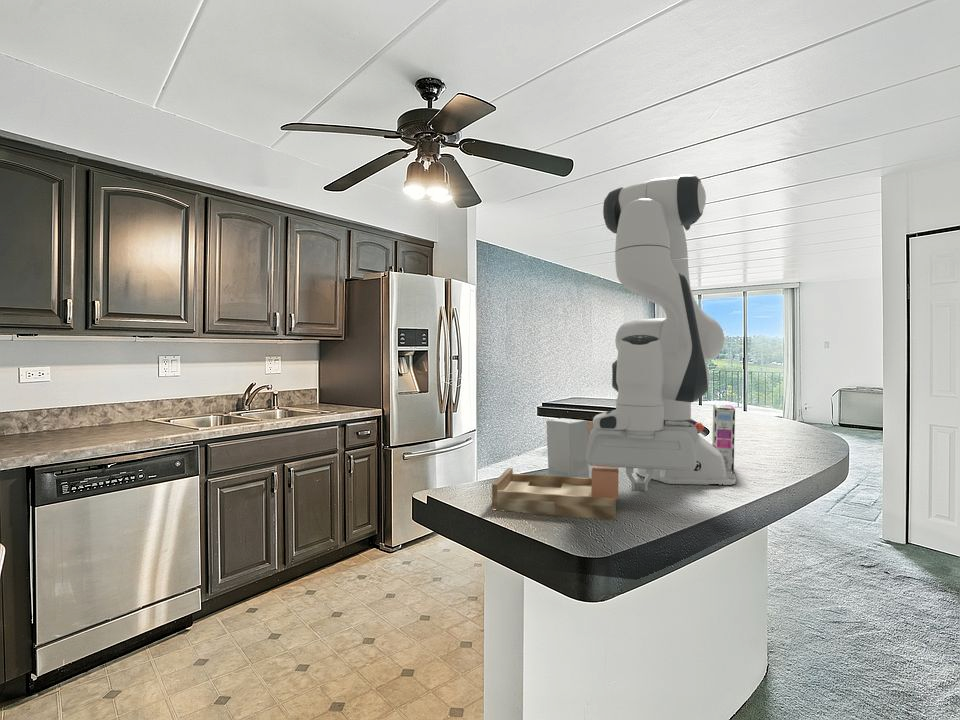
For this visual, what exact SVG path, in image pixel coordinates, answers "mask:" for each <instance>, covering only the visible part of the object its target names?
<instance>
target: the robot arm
mask: <svg viewBox="0 0 960 720" xmlns="http://www.w3.org/2000/svg"><path fill="white" fill-rule="evenodd" d="M706 198H707V195H706V190H705V187H704V185H703V183H702V181H701V179H700V178H699V177H698V176H696V175H694V174H680V175H679V176H673V177H672V176H671V177H669V176H668V177H661V178H654V179H649V181H648V180H647V181H644V182H640V183H639V182H638V183H636V184H632V185H629V186H626V187H623V186H622V187H621V186H620V187H618V188H616V189H613V190H611V191H610V192H608V194H607V195H606V197H605V198H604V200H603V206H602V207H603V208H602V215H603V219H604V223H605V226H606V228H607V229H608V230H609V231H611V233H613V234H615V235H616V236H615V249H614V250H615V251H614V252H615V253H614V254H615V255H614V256H615V258H614V259H615V261H614V262H615V273H616V277H617V279H618V281H619V282H620V284H621V285H622V286H623V287H624V288H625V289H627V290H629V291H630V293H631V292H632V293H633V294H636V295H638V296H641V297H643V298H645V299H646V300H647V301H649V302H651V303H653V304H656V305H659V306H660V307H661V308H662V310H663V311H664V313H665V317H657V318H653V317H652V318H640V319H634V320H631V321H626V322H624V323H622V324H621V325H620V327H619V328H618V330H617V332H616V335H615V341H614V342H615V347H616V350H617V357H616V360H615V361H614V362H612V365H611V369H612V370H611V371H612V374H611V376H612V377H611V379H612V381H611V388H612V389H614V391H616V392H617V397H616V402H615V409H613V410H608V411H606V412H602V413H598V414H595V416H593V418H592V425H593V428H592V429H591V431H590V433H589V435H588V438H587V441H588V444H587V452H586V461H587V463H588V464H589V466H592V467H593V466H602V467H618V468H625V474H626V476H627V478H628V480H629V481H630V482H631V492H642V493H648V484H649V483H650V482H651V480H655V481H659V482H661V483H664V484H669V485H709V484H719V485H720V486H726V485H727V486H728V485H729V486H730V485H731V486H733V485H735V484H736V483H737V478H736V475H735V474H734V473H731V472H729V471H727V470H726V468H725V462H724V458H723V456H722V454H721V453H720V451H719V450H717V449H716V448H715V447H714V446H713V445H712V443H710V442H709V441H708V440H706V439H705V438H704V437H702V436H701V435H700V432H703V430H705V426H704V424H703V423H701V422H698V421H696V420H694V419H692V418H691V417H692V414H691V413H692V408H691V407H692V403H694V402H697V400H699V399H701V398H702V397H703V396H704V395H705V394H706V393H707V392H708V390H709V387H710V371H709V368H708V364H707V361H710V360H714V359H716V358H717V357H718V356H719V354H720V353H721V352H722V350H723V347H724V345H725V333H724V330H723V328H722V327H721V325H720V323H719V322H718V321H717V320H716V319H714V318H712V317H711V316H710V315H708V314H707V313H706V312H705V311H703V309H702V308H701V307H700V306H699V304H698V303H697V301H696V300H695V297H694V295H693V291H692V288H691V281H690V271H689V258H688V257H689V255H688V244H687V238H686V233H685V231H686V232H687V231H689V230H690V229H691V226H692V225H694V224H695V223H697V222H698V220H699V219H700V218H701V217H702V216H703V212H704V209H705V206H706V201H707V199H706ZM634 469H636V474H637V475H638V476H640V477H643V478H644V479H643V480H635V477H634V476H633V474H634ZM722 484H723V485H722ZM732 484H733V485H732ZM719 485H718V486H719Z"/></svg>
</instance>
